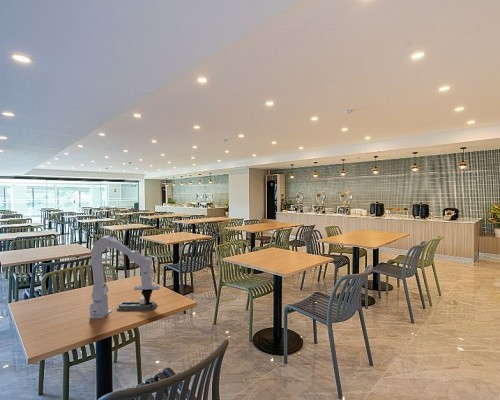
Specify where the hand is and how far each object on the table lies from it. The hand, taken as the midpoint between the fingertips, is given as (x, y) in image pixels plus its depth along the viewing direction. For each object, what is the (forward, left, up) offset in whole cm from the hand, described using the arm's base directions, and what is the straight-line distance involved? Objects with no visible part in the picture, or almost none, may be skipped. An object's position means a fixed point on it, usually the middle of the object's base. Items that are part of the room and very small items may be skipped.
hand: (147, 302), depth 164 cm
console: (0, +7, -3) cm, 8 cm away
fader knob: (0, +3, -2) cm, 3 cm away
